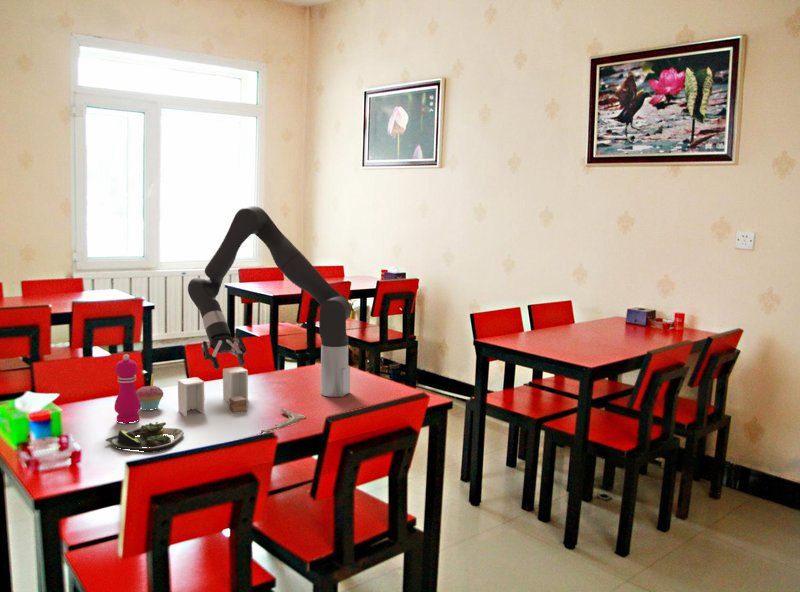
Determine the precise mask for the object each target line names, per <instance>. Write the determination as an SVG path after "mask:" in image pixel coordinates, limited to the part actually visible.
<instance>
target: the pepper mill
mask: <svg viewBox="0 0 800 592" xmlns="http://www.w3.org/2000/svg"><path fill="white" fill-rule="evenodd" d="M138 370H139V368H138V364H137V363H136V361H134V360H133V359H130V355H129V354H124V355H123V356H122V360H120V361H117V364H115V373H116V375H118V376H117V383H118V384H119V390H118V394H117V396H116V399H115V401H114V412H115V413H117V415H116V422H117V421H118V422H123V423H129V422H134V421H137V420H139V421H140V413H139V412H140V410H141V403H140V399H139V397H138V396H137V393H136V391H137V390H136V388H135V387H136V386H135V384H136V383H135V382H136V381H137V376H136V373H137V372H138Z"/></svg>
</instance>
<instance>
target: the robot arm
mask: <svg viewBox="0 0 800 592" xmlns="http://www.w3.org/2000/svg"><path fill="white" fill-rule="evenodd" d="M251 235H255V236H256V237H258V238H259V240H261V241H262V242H263V243H264V244H265V246H266V247H267V248H268V250H269V252H270V254H271V256H272V259H273V262H274V263H275V266H276V267H277V268H278V269H279V271H280V272H281V273H282V274H283V275H284V276H285V278H287V279H288V280H289V281H290V282H291V283H292V284H294V285H295V286H296V287H298V288H300V289H301V290H302V291H304V292H306V293H307V294H309V295H310V296H311V297H312V298H313V299H314V300H315V301H316V302H317V303H318V305H320V307H319V311H318V319H319V320H318V322H319V323H318V326H319V328H318V330H319V331H318V332H319V336H320V337H319V338H320V341H321V342H320V394H321V396H324V397H325V396H326V397H330V398H331V397H332V398H334V397H335V398H337V397H341V398H342V397H345V396H347V394H349V393H351V365H349V336H348V334H347V320H348V319H349V318H350V317H351V314H352V308H351V304H350V302H349V301H348V299H347V298H346V297H344V296H343V295H342V294H341V293H340V292H338V291H337V290H336V289H335V288H334V287H333V286H332V285H331V284H330V283H328V281H327V280H326V279H325V278H324V277H323V275H321V273H320V272H319V271H318V270H317V269H316V268H315V266H314V265H313V264H312V263H311V262H310V261H309V259H307V258H306V256H305V255H304V254H303V253H302V252H301V251H300V250H299V249H298V248H297V247H296V246H295V245H294V244H293V243H292V241H290V240H289V238H288V237H287V236H285V235H284V234H283V233H282V231H281V230H280V229H279V227H278V226H277V225H276V224H275V222H274V221H273V220H272V219H271V217H270V216H269V215H268V213H267V212H266V211H265V210H264V209H263V208H261V207H260V206H255V205H254V206H246V207H242V208H240V209H239V210H238V211H237V212H236V213H235V215H234V216H233V219H232V221H231V224H230V226H229V228H228V230H227V232H226V235H225V236H224V238H223V240H222V242H221V243H220V246H219V247H218V249H217V250H216V252H215V254H214V255H213V256H212V257H211V259H210V260H209V262H208V263H207V265H206V266H205V268H204V274H205V276H206V277H207V278H208V279H205V278H199V277H195V278H192V279H191V280H190V281H189V283H188V284H187V294H188V296H189V298H190V300H191V301H192V302H193V303H194V305H195V306H196V308H197V309H198V311H199V314H200V316H201V318H202V323H203V327H204V330H205V332H206V336H207V339H208V342H207V341H206V340H203V341H202V344H201V346H200V347H201V350H202V355H203V359H204V360H205V361H208V360H209V361H211V365H212V368H213V369H215V370H216V371H217V370H219V369H220V366H221V365H220V363H219V361H218V357H217V354H219V355H220V354H224V353H225V354H231V355H234V356H235V357H237V358H236V359H237V362H238V364H239V367H242V368H243V367H244V364H245V358H244V356H245V355H246V353H247V352H248V349H247V347H246V345H245V343H244V341H243V338H242V337H240V336H239V337H238V338H236V339H234V338H233V337H232V333H231V331H230V330H231V329H230V328H229V324H228V323H227V319H226V318H225V315H224V314H223V310H222V307H221V305H220V303H219V301H218V300H217V299H215V298H216V297H217V296H218V295H219V292H220V290H221V286H222V283H223V280H224V278H225V277H226V275H227V274H228V272H229V271H230V270H231V268H232V266H233V264H234V262H235V260H236V258H237V257H236V256H237V254H238V252H239V250H240V247H241V246H243V244H244V242H245V241H246V240H247V239H248V238H249V237H250V236H251ZM209 348H211V349H212V350H213V352H212V354H211V353H210V350H209Z"/></svg>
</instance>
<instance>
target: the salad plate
mask: <svg viewBox="0 0 800 592" xmlns="http://www.w3.org/2000/svg"><path fill="white" fill-rule="evenodd" d="M166 425H167V422H159V421H155V423H152V422H149V423H148V424H147V423H146V424H142V425H141V426H138V427H132V428H130V429H128V430H127V431H126V430H123V429H120V430H119V431H118V434H117V435H114V436H113V435H112V436H110V437H107V438H106V439H105V442H108V443H110V444H111V445H112V446H113V447H114V446H115V447H117V448H121V449H130V450H139V451H144V452H148V453H154V452H153V451H157V452H161V451H160V450H162V451H165V450H167V449H169V448H171V447H172V446H174V445H175V444H176V443H177V442H178V441H179V440H180V439H181V438H182V437H183V436H184V434H185V432H184V430H183V429H180V428H175V427H173V428H171V427H164V426H166ZM163 434H168V435H173V436H174V440H173V439H172V437H171V436H167V435H166V436H165V435H164V436H163ZM137 435H140V437H135V436H137ZM115 447H114V448H115ZM142 447H147V448H142ZM149 447H150V448H149ZM164 449H165V450H164Z"/></svg>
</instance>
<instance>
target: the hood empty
mask: <svg viewBox="0 0 800 592" xmlns="http://www.w3.org/2000/svg"><path fill="white" fill-rule="evenodd" d="M177 397H178V398H177V399H178V403H177V404H178V405H177V407H178V410H177V411H178V412H179V411H180V412H181V413H182V414H181V413H180V412H179V413H180V414H181V415H183V416H184V415H185V416H184V417H188V413H187V412H188V411H190V409H192V410H198V412H200V411H201V412H200V413H202V414H205V381H204V380H202V378H201V379H200V378H199V377H197V376H196V377H189V378H182V379H177Z"/></svg>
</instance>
